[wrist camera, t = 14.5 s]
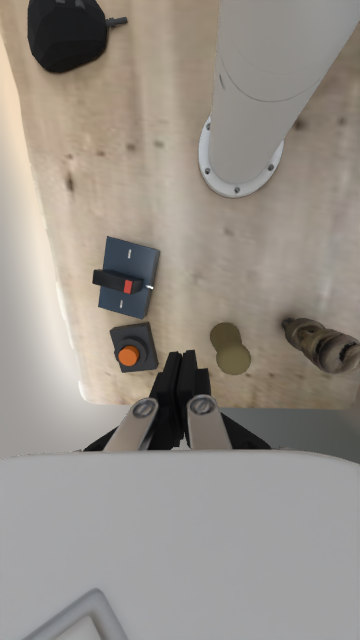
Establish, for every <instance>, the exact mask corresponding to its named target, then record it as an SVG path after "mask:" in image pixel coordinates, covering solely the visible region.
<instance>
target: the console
mask: <svg viewBox="0 0 360 640" xmlns="http://www.w3.org/2000/svg"><path fill="white" fill-rule="evenodd" d="M159 256H160V251H158V250H156V249H152V248H149V247H145V246H141V245H138V244H134V243H130V242H127V241H123V240H120V239H116V238H112V237H109V236H107V240H106V248H105V256H104V264H103V270H104V269H110V270H113V271H117V272H120V273H124V274H127V275H131V276H134V277H138V278H141V279H143V284H142V289H141V291H139V292H137V293H134V294H127V293H124V292H120V291H117V290H113V289H110V288H107V287H103V286H101V288H100V296H99V304H98V307H100V308H104V309H107V310H111V311H114V312H118V313H121V314H125V315H128V316H132V317H135V318H139V319H143V318H144V317H146V316H147V312H148V307H149V302H150V298H151V293H152V289H153V288H154V287H153V284H154V279H155V274H156V270H157V265H158V260H159Z"/></svg>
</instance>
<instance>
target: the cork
mask: <svg viewBox="0 0 360 640" xmlns="http://www.w3.org/2000/svg"><path fill="white" fill-rule="evenodd" d="M210 339H211V342H212V344H213V346H214V348H215V350H216V352H217V355H216V361H217V364H218V366H219V368H220V369H221V370H222V371H223V372H225V373H226V374H230V375H239V374H242V373H244V372H245V371H246V370H247V369H248V368H249V366H250V363H251V356H250V353H249V351H248V349H247V348H246V347H245V346H244V345H242V341H241V336H240V333H239V330H238V329H237V327H236V326H234V325H233V324H231V323H221V324H218V325H216V326H215V327H214V328H213V329H212V331H211V334H210Z"/></svg>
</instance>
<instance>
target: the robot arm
mask: <svg viewBox="0 0 360 640" xmlns="http://www.w3.org/2000/svg"><path fill="white" fill-rule="evenodd" d="M359 20H360V0H220V9H219V22H218V34H217V47H216V60H215V72H214V85H213V98H212V110H211V114H210V116H209V118H208V119H207V121H206V122H205V125H204V127H203V130H202V132H201V136H200V140H199V148H198V160H199V167H200V170H201V174H202V176H203V178H204V180H205V182H206V183H207V184H208V186H209V187H210V188H211V189H212V190H213V191H215V192H216V193H217V194H220V195H222V196H224V197H229V198H239V197H244V196H247V195H249V194H252V193H253V192H255V191H257V190H258V189H260V188H261V187H262V186H263V185H264V184H265V183H266V182H267V181H268V179H269V178H270V177H271V176H272V174H273V173H274V171H275V170H276V168H277V166H278V163H279V161H280V159H281V155H282V152H283V147H284V137H285V136H286V134H287V133H288V131H289V130H290V128H291V127H292V125H293V124H294V122H295V121H296V119H297V118H298V116H299V114H300V113H301V111H302V110H303V108H304V107H305V105H306V104H307V102H308V101H309V99H310V98H311V96H312V95H313V93H314V92H315V90H316V89H317V87H318V86H319V84H320V82H321V81H322V79H323V78H324V76H325V75H326V73H327V72H328V70H329V69H330V67H331V65H332V64H333V62H334V61H335V59H336V58H337V56H338V55H339V53H340V52H341V50H342V48H343V47H344V45H345V44H346V42H347V41H348V39H349V38H350V36H351V34H352V32H353V31H354V29H355V27H356V25H357V24H358V22H359ZM208 130H210V131H208ZM268 169H270V171H269V170H268ZM207 172H208V173H209V174H208V175H207V174H206V173H207ZM235 191H237V193H235ZM184 432H185V437H186V440H187V445H188V446H189V448H190V449H191V450H171V449H172V448H173V447H179V445H180V440H181V439H183V438H184ZM0 640H360V464H357V463H354V462H350V461H347V460H344V459H341V458H338V457H333V456H328V455H324V454H319V453H313V452H307V451H302V450H297V449H291V448H286V447H280V446H279V449H275V448H271V447H270V446H269V445H268V444H267V443H266V442H265V441H263V440H262V439H260V438H259V437H257V436H256V435H254V434H253V433H251V432H250V431H248V430H247V429H245V428H244V427H242V426H241V425H239V424H238V423H236V422H234V421H233V420H232V419H230V418H229V417H227V416H226V415H224V414H223V413H221V412H220V410H219V407H218V404H217V401H216V400H215V399H214V398H213V397H212V396H211V387H210V379H209V372H208V368H205V369H198V367H197V361H196V355H195V350H187V351H186V353H183V357H182V354H181V353H178V351H177V352H170V353H169V356H168V358H167V361H166V364H165V367H164V370H163V372H159V373H158V374H157V377H156V380H155V382H154V385H153V387H152V390H151V393H150V395H149V398H144V399H141V400H139V401H137V402H136V403H135V404H134V405H133V406H132V407H131V408H130V410H129V411H128V413H127V414H126V416H125V418H124V419H123V421H122V422H121V424H120V425H119V426H118V427H116V428H115V429H113V430H112V431H110V432H109V433H107V434H106V435H104V436H102V437H101V438H99V439H98V440H96V441H95V442H93V443H92V444H90V445H89V446H88V447H87V448H85V449H84V450H83V451H81V450H77V451H73V452H60V453H59V452H58V453H41V454H27V455H20V456H14V457H10V458H6V459H2V460H0Z"/></svg>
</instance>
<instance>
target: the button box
mask: <svg viewBox="0 0 360 640" xmlns="http://www.w3.org/2000/svg"><path fill="white" fill-rule="evenodd" d="M110 335H111V338H112V341H113V345H114V348H115V351H114V354H115V357H116V360H117V361H118V362H119V365H120V368H121V371H122V373H125V372H135V371H144V370H154V369H157V367H158V359H157V355H156V351H155V346H154V342H153V338H152V334H151V329H150V325H149V322H148V323H141V324H134V325H127V326H121V327H114V328H113V329H111V330H110ZM126 346H134V347H135V348H137V350H138V351H139V358H138V360H137V361H136V363H135V364H133V365H131V366H126V365H124V364H122V363H121V362H120V360H119V353H120V351H121V350H122V349H123V348H124V347H126Z"/></svg>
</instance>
